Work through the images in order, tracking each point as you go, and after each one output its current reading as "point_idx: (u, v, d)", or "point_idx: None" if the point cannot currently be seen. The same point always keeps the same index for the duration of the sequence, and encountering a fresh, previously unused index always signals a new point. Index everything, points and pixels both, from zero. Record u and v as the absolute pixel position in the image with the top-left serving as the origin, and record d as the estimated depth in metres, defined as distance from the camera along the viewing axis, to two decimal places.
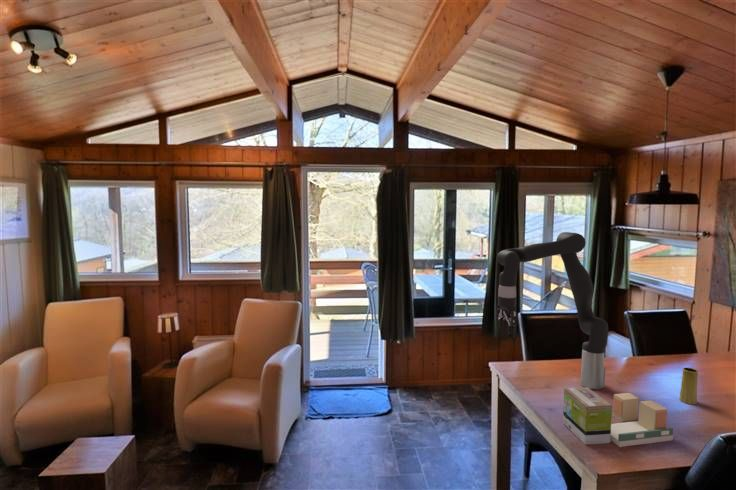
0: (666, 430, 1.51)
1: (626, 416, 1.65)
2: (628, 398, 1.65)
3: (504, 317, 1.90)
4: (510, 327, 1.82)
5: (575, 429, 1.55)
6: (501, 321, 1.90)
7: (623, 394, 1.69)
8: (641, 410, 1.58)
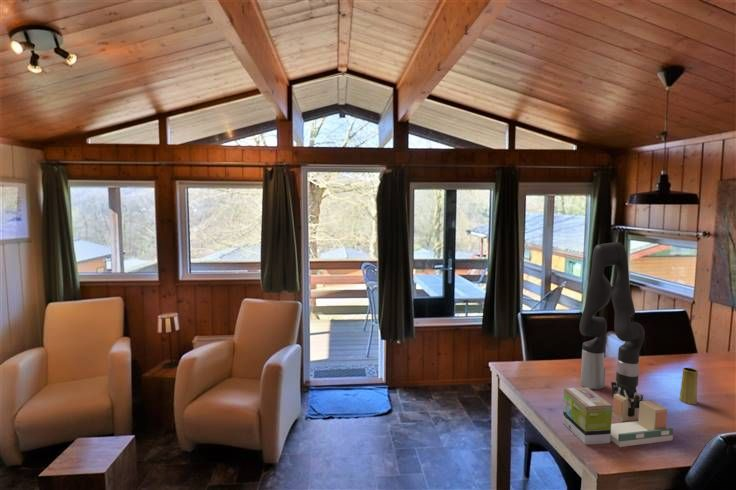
0: (666, 430, 1.51)
1: (626, 416, 1.65)
2: None
3: None
4: (630, 409, 1.64)
5: (575, 429, 1.55)
6: None
7: None
8: (641, 410, 1.58)
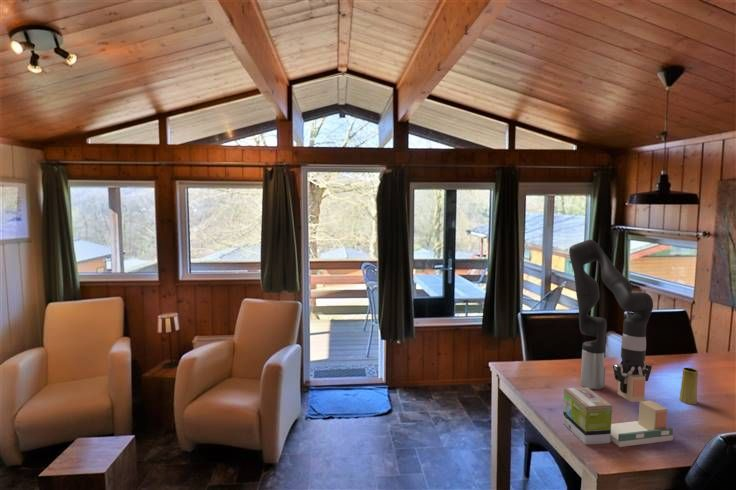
0: (666, 430, 1.51)
1: None
2: None
3: None
4: None
5: (575, 429, 1.55)
6: None
7: (626, 373, 1.53)
8: (641, 410, 1.58)
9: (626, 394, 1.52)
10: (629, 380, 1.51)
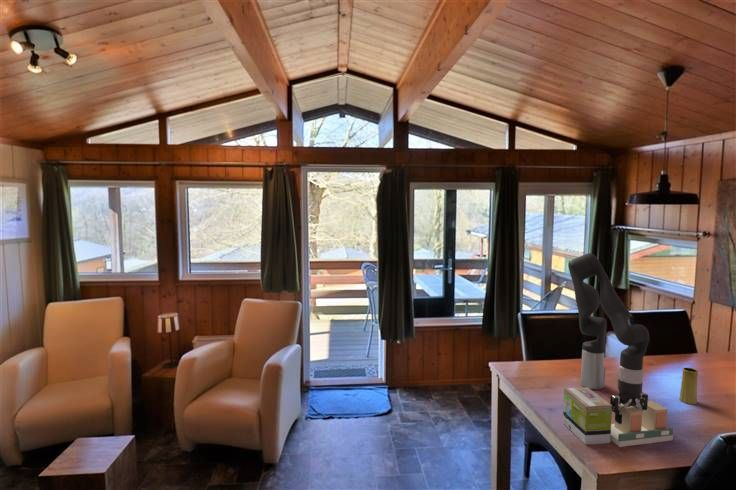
0: (666, 430, 1.51)
1: None
2: (634, 408, 1.53)
3: (619, 407, 1.54)
4: None
5: (575, 429, 1.55)
6: None
7: None
8: None
9: (623, 428, 1.53)
10: (627, 415, 1.51)
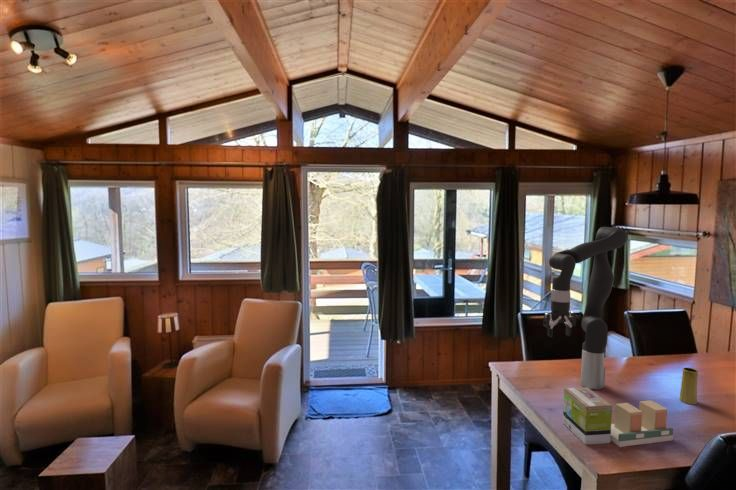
0: (666, 430, 1.51)
1: None
2: (634, 408, 1.53)
3: None
4: (570, 328, 1.83)
5: (575, 429, 1.55)
6: None
7: (623, 407, 1.54)
8: (641, 410, 1.58)
9: (623, 428, 1.53)
10: (627, 415, 1.51)
